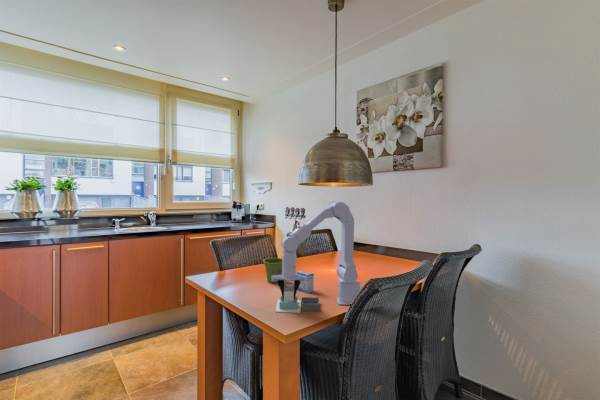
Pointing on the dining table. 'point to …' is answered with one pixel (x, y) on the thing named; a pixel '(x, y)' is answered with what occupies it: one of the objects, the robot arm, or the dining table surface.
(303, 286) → the medicine box
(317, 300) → the grey arch stand
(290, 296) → the plug
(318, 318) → the dining table surface
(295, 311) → the port
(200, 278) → the dining table surface
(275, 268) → the plant pot
